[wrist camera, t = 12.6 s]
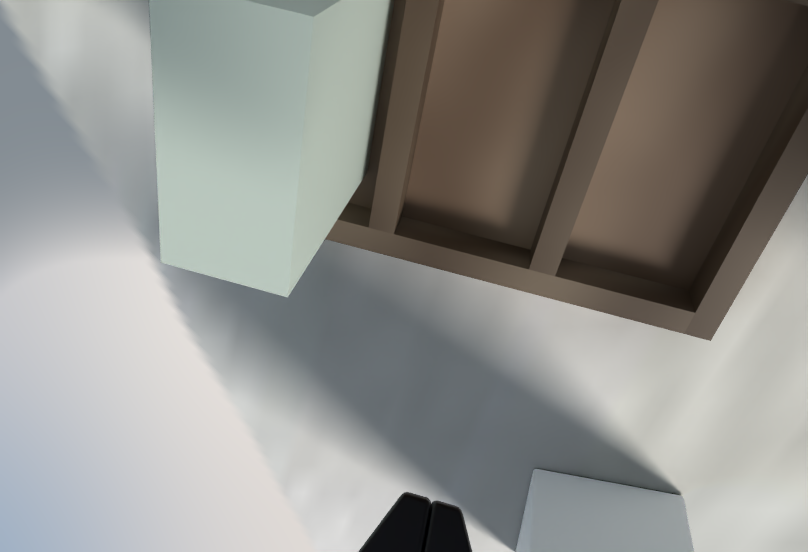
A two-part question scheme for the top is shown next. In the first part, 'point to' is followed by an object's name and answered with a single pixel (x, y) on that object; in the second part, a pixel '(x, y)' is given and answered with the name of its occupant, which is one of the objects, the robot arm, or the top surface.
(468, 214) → the rack
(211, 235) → the block
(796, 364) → the top surface
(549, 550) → the milk
